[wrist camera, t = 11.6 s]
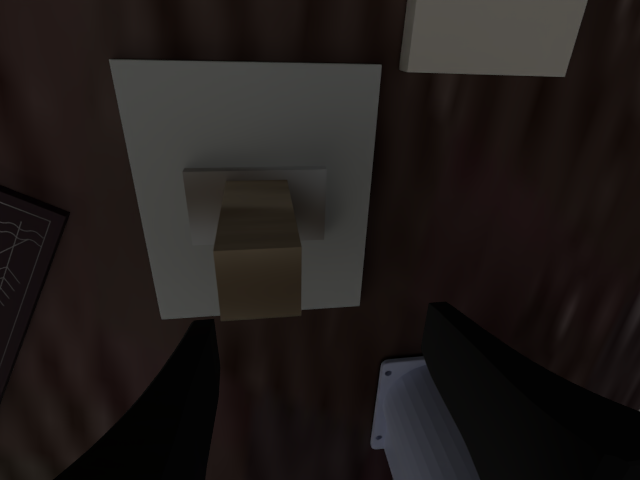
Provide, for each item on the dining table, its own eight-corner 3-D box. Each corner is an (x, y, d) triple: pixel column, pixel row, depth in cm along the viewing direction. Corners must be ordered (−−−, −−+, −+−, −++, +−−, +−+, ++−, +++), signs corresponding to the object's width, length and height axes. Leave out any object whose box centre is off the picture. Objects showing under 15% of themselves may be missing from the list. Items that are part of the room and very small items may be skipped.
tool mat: (358, 302, 25) (359, 305, 25) (162, 315, 24) (161, 319, 23) (379, 64, 19) (381, 64, 19) (111, 58, 17) (108, 59, 17)
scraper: (322, 234, 22) (351, 322, 16) (194, 240, 21) (167, 335, 15) (324, 165, 20) (358, 231, 14) (184, 168, 20) (148, 240, 13)
